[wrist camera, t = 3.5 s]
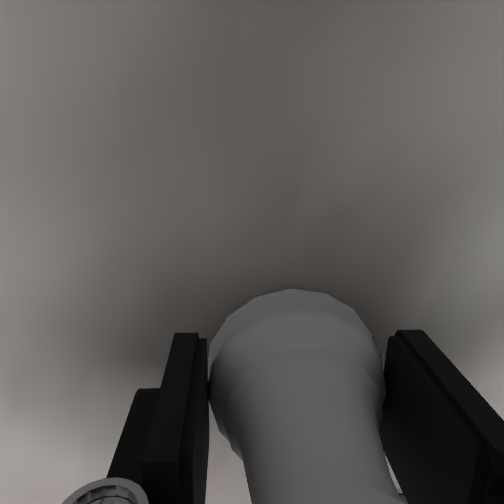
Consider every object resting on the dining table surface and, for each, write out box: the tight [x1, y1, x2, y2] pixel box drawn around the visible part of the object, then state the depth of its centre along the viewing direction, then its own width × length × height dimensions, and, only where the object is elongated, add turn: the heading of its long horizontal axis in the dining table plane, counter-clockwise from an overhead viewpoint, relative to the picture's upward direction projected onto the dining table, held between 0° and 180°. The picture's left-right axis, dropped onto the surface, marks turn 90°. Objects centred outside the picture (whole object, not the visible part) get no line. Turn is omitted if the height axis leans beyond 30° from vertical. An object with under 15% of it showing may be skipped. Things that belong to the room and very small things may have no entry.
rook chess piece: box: [208, 289, 406, 504], centre depth 8 cm, size 4×4×8 cm
